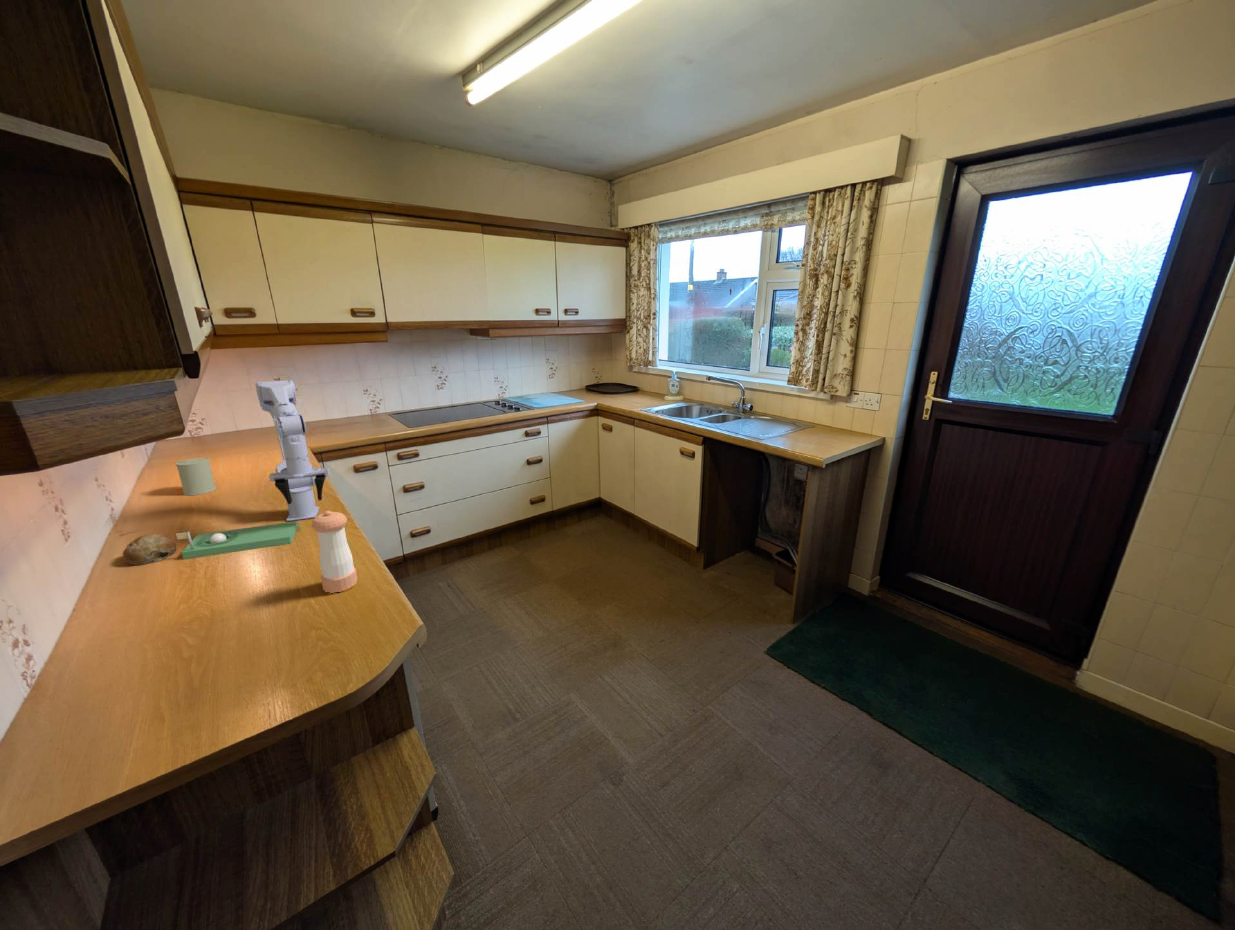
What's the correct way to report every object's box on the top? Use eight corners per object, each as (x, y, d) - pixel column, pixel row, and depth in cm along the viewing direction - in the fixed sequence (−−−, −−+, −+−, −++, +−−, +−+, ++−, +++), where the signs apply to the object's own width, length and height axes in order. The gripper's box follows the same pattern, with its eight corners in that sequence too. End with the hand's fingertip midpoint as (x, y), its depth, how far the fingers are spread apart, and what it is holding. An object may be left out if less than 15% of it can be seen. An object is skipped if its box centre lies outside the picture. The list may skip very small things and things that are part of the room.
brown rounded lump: (142, 579, 123) (145, 556, 120) (109, 560, 123) (111, 536, 120) (183, 561, 132) (186, 539, 129) (152, 544, 132) (155, 521, 130)
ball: (222, 542, 136) (208, 537, 133) (230, 533, 135) (216, 528, 133) (219, 550, 133) (205, 545, 131) (228, 542, 133) (213, 537, 130)
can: (188, 488, 177) (180, 458, 174) (219, 485, 181) (212, 455, 177) (179, 497, 169) (170, 464, 166) (212, 493, 173) (204, 461, 169)
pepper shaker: (319, 595, 110) (304, 519, 104) (328, 579, 117) (314, 507, 111) (353, 591, 112) (341, 515, 106) (361, 575, 119) (349, 504, 113)
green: (197, 541, 136) (191, 518, 134) (298, 527, 146) (293, 505, 144) (181, 559, 126) (174, 535, 124) (290, 543, 135) (286, 520, 133)
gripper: (263, 463, 131) (272, 509, 135) (324, 458, 136) (331, 502, 140) (269, 456, 137) (278, 501, 141) (327, 452, 143) (334, 494, 147)
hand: (305, 501), depth 141 cm, fingers open, 7 cm apart
